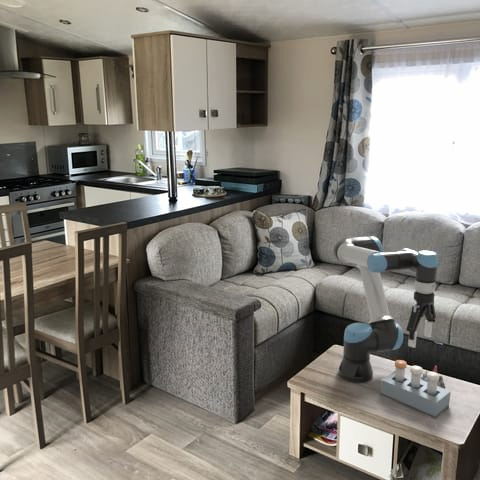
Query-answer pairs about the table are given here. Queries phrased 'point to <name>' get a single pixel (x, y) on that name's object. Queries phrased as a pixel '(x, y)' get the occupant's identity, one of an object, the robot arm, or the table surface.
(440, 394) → the blue peg holder block
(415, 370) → the cream plunger
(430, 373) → the cream plunger
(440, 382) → the brake caliper
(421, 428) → the table surface
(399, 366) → the peach ball knob
